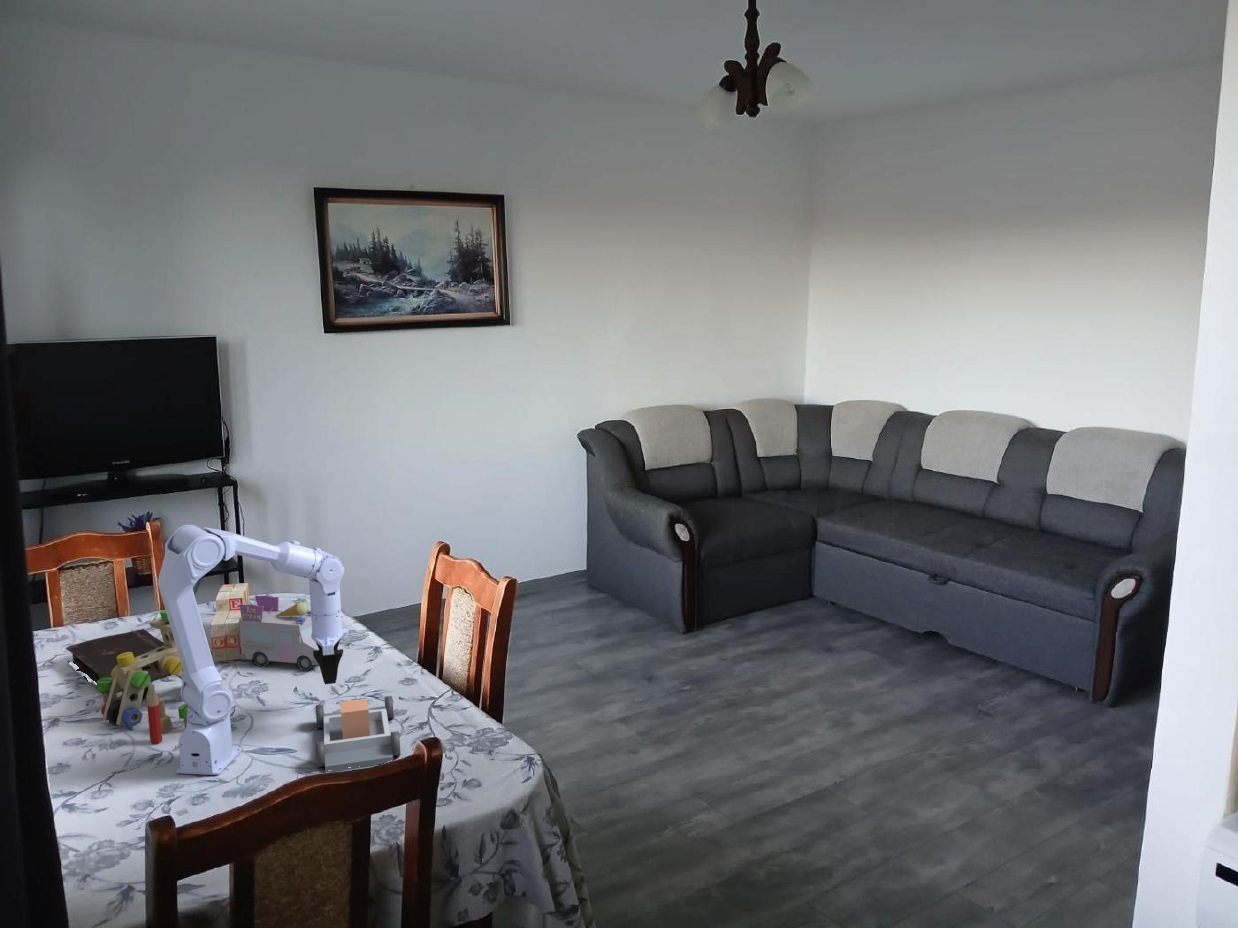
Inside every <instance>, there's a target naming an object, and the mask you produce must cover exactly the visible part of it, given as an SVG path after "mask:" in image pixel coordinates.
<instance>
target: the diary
mask: <svg viewBox="0 0 1238 928" xmlns="http://www.w3.org/2000/svg"><path fill="white" fill-rule="evenodd" d="M163 645H164V642H163V640H160V639H159V638H157V637H156V636H153V635H152V634H151V633H150V632H149V631H147V630H146V629H145V628H140V629H136V630H131V631H127V632H123V633H116V634H111V635H107V636H103V637H98V638H93V639H90V640H86V641H83V642H82V641H81V642H78V643H75V644H72V645H69V646H67V647H65V649H66V650H67V651H69V652H70V653H71V654H72V661H73V663H74V664H76V665H77V666H78V667H79V669H77V670H76V671H81V672H83V673H85V674H87V675H88V676H89V677H90V678H91V679H92V680H93V681H95V682H96V683H97V681H98V680H99V679H101V678H106V677H110V678H112V677H111V672H112V670H113V669H114V668H115V666H117V665H118V662H117V656H118V655H120V654H122V653H125V652H132V653H133V656H134V658H135V657H138V656H140V655H142V654H145V653H147V652H149V651H152V650H154V649H156V648H159V647H161V646H163ZM70 661H71V660H67V664H68V663H69V662H70ZM141 668H142V671H147V672H148V675H149V676H150V678H151V682H155V681H157V680H161V679H164V678H169V677H171V676H172V674H169V673H167V674H164V675H160V674H157V673H154V672H153V668H151V667H150V666H148V665H145V666H143V667H141ZM76 671H75V672H76ZM83 677H84V678H83ZM83 677H82V678H83V679H85V681H86V680H87V678H86V677H85V676H83ZM87 681H88V680H87ZM87 681H86V682H87ZM101 693H102V694H101ZM101 693H100V694H101V695H102V696H103V692H101ZM119 693H122V690H119V691H118V692H117V694H119Z"/></svg>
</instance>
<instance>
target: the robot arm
mask: <svg viewBox="0 0 1238 928" xmlns="http://www.w3.org/2000/svg"><path fill="white" fill-rule="evenodd" d="M203 529H204V530H203ZM203 529H202V528H201V527H199V526H197V525H194V524H184V525H182V526H180V527H178V528H177V529H176V530H175V531H174V532H173V533H172V534H171V536H170V537H169V538H168V539H167V540H166V542H165V543H164V558H163V560H162V565H161V567H160V571H159V575H158V580H157V584H158V585H157V586H158V589H159V593H160V596H161V600H162V603H163V606H164V610H166V613H167V617H168V620H169V623H170V627H171V630H172V633H173V637H174V640H175V644H176V647H177V650H178V654H179V657H180V661H181V664H182V667H183V672H182V674H181V679H182V680H181V679H180V680H181V688H180V698H181V699H180V700H182V702H183V704H186V705H188V712H187V726H186V729H185V728H184V731H183V732H182V734H181V735H180V737H179V740H178V750H179V759H180V766H179V767H178V769H176V773H177V774H183V775H184V774H187V775H204V776H205V775H207V776H208V775H209V776H212V775H213V776H219V775H220V774H221V773H222V772H223V771H224V770H225V769H226V768H227V766H229V765H230V763H231V762H232V761H234V760H235V758H236V757H237V756H238V755H239V754H240V753H241V752H242V751H243V748H242V747H241V746H233V740H232V739H233V738H232V727H231V711H232V709H233V706H234V702H235V700H234V695H233V693H232V692H231V691H230V690H229V689H228V688H227V687H226V686H225V685H224V681H223V678H222V676H221V674H220V673H219V672H218V669H217V668H216V666H215V662H214V661H213V655H212V653H211V649H210V646H209V642H208V639H207V635H206V631H205V628H204V625H203V621H202V618H201V614H200V611H199V607H198V603H197V600H196V596H195V593H194V589H193V588H194V587H195V585H196V584H197V583H198V581H199V580H200V579H201V578H203V577H204V576H205V575H207V573H209V572H210V571H211V570H213V569H214V568H215V567H216V566H217V565H218V564H219V563H220V562H221V561H222V560H223V561H226V562H227V561H229V560H230V559H231V558H232V557H234V556H236V555H237V556H241V557H247V558H250V559H255V560H259V561H264V562H269V563H270V564H271V566H272V568H273V570H274V571H276V572H280V573H284V574H288V575H290V576H291V575H293V576H295V577H296V576H297V577H301V578H305V579H308V582H309V583H308V585H309V601H310V602H309V603H310V611H311V621H312V633H311V637H312V639H313V640H314V641H315V642H316V644H317V646H318V648H319V650H314V651H313V656H314V658H315V660H316V661H317V663H318V666H319V668H320V669H319V670H320V672H321V676H322V680H323V684H324V685H331V684H332V685H333V684H336V682H337V678H338V673H339V667H340V666H339V665H340V662H341V658H342V657H343V655H344V648H341V649H338V648H339V644H340V641H341V639H342V637H344V636H347V635H349V628H343V623H342V605H341V602H342V601H341V586H340V585H341V580H342V578H343V576H344V574H345V569H346V568H345V567H344V566H343V563H342V561H341V560H340V558H339V557H337V556H335V555H333V554H331V553H329V552H326V551H324V550H322V549H321V548H319V547H313V548H310V547H306V546H303V545H300V544H301V543H300V542H299V541H297V540H293V539H290V542H288V541H282V542H280V543H278V544H277V545H274V544H270V543H266V542H263V541H261V540H257V539H254V538H250V537H247V536H244V535H242V534H238V533H234V532H231V531H227V530H222V529H217V528H211V527H203Z"/></svg>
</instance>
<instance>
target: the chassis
mask: <svg viewBox="0 0 1238 928" xmlns="http://www.w3.org/2000/svg"><path fill="white" fill-rule="evenodd" d="M393 700H394V699H393V695H388V696H387V695H386V696H384V706H374V707H368V710H369V729H370V736H365V737H358V738H351V739H343V735H342V718H341V711H337V712H336V711H335V712H328V713H325V710H324V704H316V705H315V719H316V722H315V723H316V728H317V729H319V728H320V729H321V728H323V738H324V739H323V741H317V742H315V752H316V753H315V755H316V767H317V768H320V767H322V768H323V767H325V769H324V770H325V772H327V773H333V772H339V771H347V770H355V769H359V768H366V767H367V768H368V767H373V766H372V765H375V766H380V765H379V764H381V765H384V764H383V763H386V762H388V761H391V760H393V761H394V757H398V756H401V740H400V733H399V730H397V731H396V730H395V731H391V730H390V724H389V719H394V716H395V715H394V701H393ZM359 766H360V767H359ZM348 767H351V768H348ZM328 770H332V771H328Z"/></svg>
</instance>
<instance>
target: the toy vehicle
mask: <svg viewBox="0 0 1238 928" xmlns="http://www.w3.org/2000/svg"><path fill="white" fill-rule="evenodd" d="M254 598H255V602H256V604H250V605H249V604H248V605H243V604H240V605H239V606H240V612H241V620H239V627H240V639H241V652H242V654H240V658H241V659H243V660H244V659H245V660H246V659H247V660H250V661H251V664H252V665H254V664H255V665H256V666H258V667H265V666H267V665H268V664H269V663H270V662H280V663H281V662H282V663H289V664H290V663H292V664H297V665H298V668H299V669H300V670H302V671H306V672H307V671H310V670H311V669H312V668H313V667H314V666H319V664H318V663H317V661H316V660H315V658H314V656H313V651H314V650H319V648H318V646H317V644H316V642H315V641H314V640H313V639H312V637H311V633H312V621H311V610H310V611H309V606H308V605H307V604H306V602H303V601H302V602H300V601H299V602H296V604H294V605H291V606H290V607H288V608H286V609H285V610H282V611H279V609H280V607H279V605H280V603H279V598H280V597H279V596H272V595H257V594H256V595H254Z"/></svg>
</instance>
